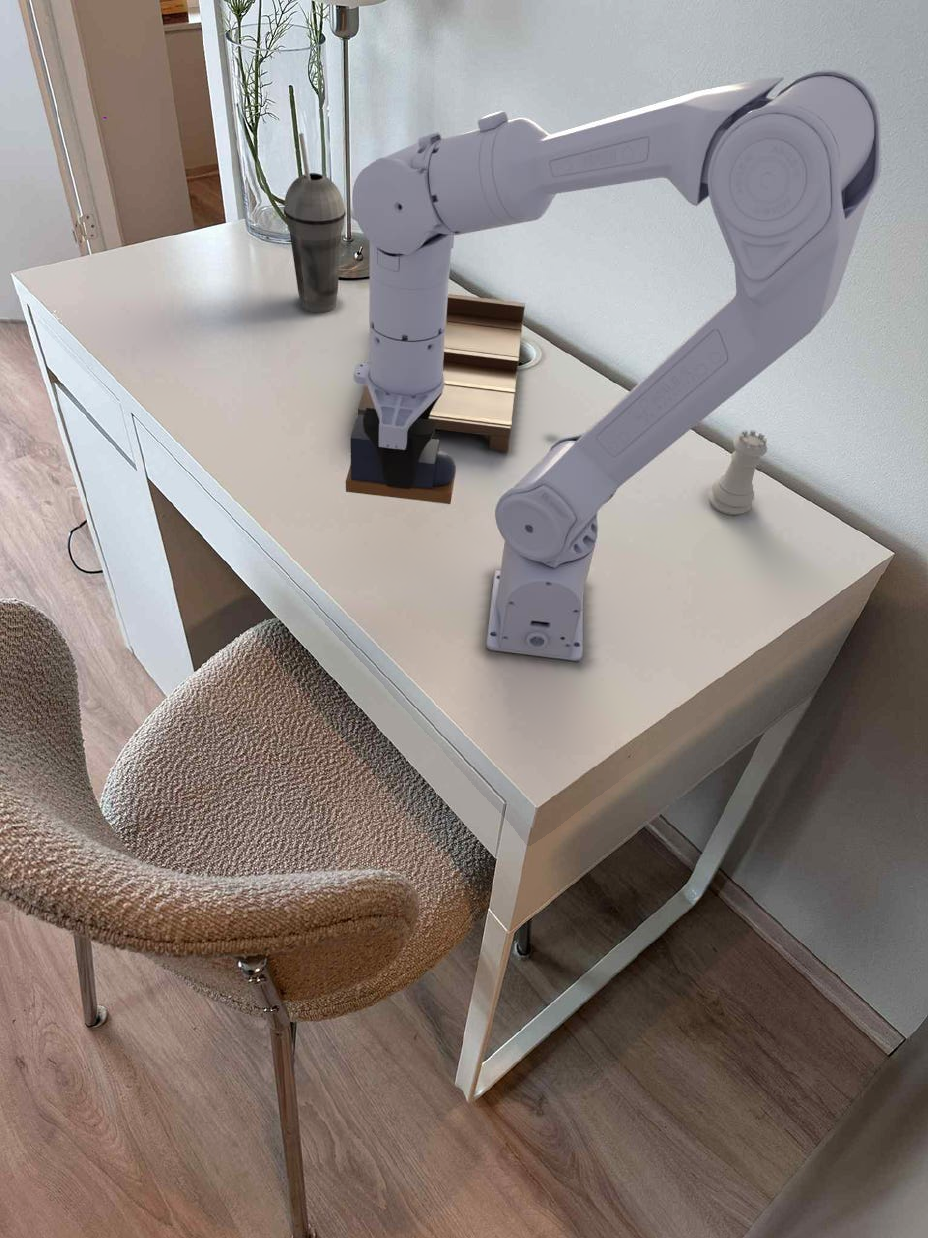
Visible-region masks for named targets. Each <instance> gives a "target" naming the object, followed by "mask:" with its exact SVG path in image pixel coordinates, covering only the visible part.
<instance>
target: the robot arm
mask: <svg viewBox="0 0 928 1238" xmlns="http://www.w3.org/2000/svg"><path fill="white" fill-rule="evenodd" d="M782 81H784V77H771V78H760V79H759V78H758V79H755V80H754V79H753V80H749V81H745V82H738V83H734V84H728V85H723V86H718V87H713V88H707V89H704V90H699V91H694V92H692V93H688V94H685V95H682V96H679V97H675V98H672V99H668V100H665V101H662V102H658V103H655V104H651V105H647V106H644V107H641V108H637V109H634V110H631V111H628V112H623V113H621V114H617V115H614V116H610V117H607V118H604V119H601V120H597V121H594V122H590V123H588V124H587V123H586V124H584V125H580V126H577V127H574V128H569V129H567V130H564V131H563V130H562V131H560V132H557V133H554V134H549V133H548V132H547V131H546V130H544V129H543V128H542V127H540V126H539V125H538V124H537V123H535V122H534V121H532V120H531V119H528V118H525V117H518V118H515V119H514V118H513V119H511V120H509V118H508V114H507V112H506V110H500V111H498V112H497V111H496V112H493V113H490V114H488V115H486V116H484V117H482V118H479V119H478V120H477V126H478V129H474V130H470V131H467V132H463V133H459V134H456V135H452V136H449V137H446V138H442V135H441V133H440V132H438V131H435V132H432V133H428V134H426V135H423V136H421V137H420V138H418V141H417V142H416V143H414V144H411V145H409V146H407V147H404V148H402V149H400V150H398V151H395V152H393V153H391V154H388V155H386V156H384V157H379V158H377V159H376V160H374V161H373V162H371V163H370V164H368V165H367V166H366V167H364V168H363V169H361V171H360V172H359V173H358V175H357V177H356V178H355V180H354V184H353V187H352V193H351V195H352V196H351V197H352V198H351V200H352V201H351V202H352V209H353V213H354V217H355V220H356V223H357V224H358V226H359V228H360V230H361V232H362V234H363V235H364V236H365V238H366V239H367V240H368V241H369V293H368V294H369V302H368V303H369V305H368V306H369V307H368V308H369V309H368V311H369V312H368V313H369V314H368V315H369V318H368V320H369V333H368V335H369V336H368V337H369V341H368V342H369V345H368V347H369V351H368V352H369V353H368V358H369V359H368V362H369V363H364V362H363V363H362V362H360V363H357V365H356V366H355V369H354V372H353V381H354V382H355V383H356V384H358V385H364V386H365V385H366V386H367V387H368V389H369V392H370V395H371V397H372V400H373V403H374V406H375V409H373V408H366V410H365V414H364V417H363V428H364V432H365V434H366V435H367V436H368V437H369V439H370V440H371V442H372V443H373V445H374V447H375V449H376V451H377V454H378V457H379V461H380V464H381V469H382V473H383V477H384V480H385V483H386V486H387V487H393V488H402V489H410V488H411V486H412V484H413V481H414V478H415V474H416V470H417V465H418V461H419V458H420V455H421V453H422V451H423V449H424V448H425V446H426V445H427V444H428V442H429V441H430V440H431V439H433V436H434V434H435V431H436V429H435V427H436V422H437V421H435V420H428V418H429V416H430V413H431V411H432V409H433V407H434V405H435V403H436V402H437V400H438V399H439V397H440V396H441V395H442V391H443V389H444V379H445V376H444V373H443V359H444V345H445V330H446V315H447V301H448V294H449V284H450V269H451V256H452V249H454V245H455V244H454V243H455V242H454V241H455V236H460V235H465V234H471V233H475V232H481V231H487V230H491V229H492V230H493V229H498V228H503V227H508V226H512V225H519V224H522V223H528V222H534V221H538V220H539V219H541V218H542V217H543V216H545V214H546V212H547V211H548V210H549V208H550V207H551V204H552V203H553V200H554V198H555V197H556V195H558V194H562V193H563V194H564V193H569V192H577V191H583V190H590V189H595V188H596V189H597V188H602V187H608V186H616V185H622V184H629V183H636V182H641V181H646V180H647V181H649V180H654V179H662V178H665V179H667V180H668V181H669V182H670V183H671V184H672V185H673V187H674V188H676V190H677V191H678V192H679V193H680V194H681V195H682V196H683V198H684V199H685V200H686V201H687V202H688V203H689V204H691V205H692V206H694V207H697V206H699V205H700V204H701V203H702V202H704V201H705V200H706V199H707V198H709V200H710V204H711V207H712V208H711V209H712V210H713V213H714V216H715V219H716V221H717V224H718V226H719V229H720V231H721V234H722V236H723V240H724V242H725V243H726V246H727V249H728V251H729V254H730V257H731V259H732V262H733V264H734V275H735V276H734V277H735V279H734V280H735V293H734V294H733V295H732V296H731V297H730V298H729V299H728V300H726V301H725V302H724V304H722V305H721V306H720V307H719V308H718V309H717V310H716V311H715V312H714V313H712V315H711V316H709V317H708V318H707V319H706V320H705V321H704V322H703V323H702V324H701V325H700V326H698V327H697V328H696V330H695V331H693V332H692V333H691V334H690V335H689V336H688V337H687V338H686V339H685V340H683V342H682V343H680V344H679V345H678V346H677V347H676V348H675V349H674V350H672V352H671V353H670V354H668V355H667V356H666V357H665V358H664V359H663V360H662V361H661V362H660V363H659V364H657V366H655V367H654V369H652V370H651V371H650V372H649V373H648V374H647V375H646V376H645V377H643V379H642V380H640V381H639V383H637V384H636V385H635V386H634V387H633V388H632V389H631V390H630V391H628V392H627V393H626V394H625V396H623V397H622V398H621V399H620V400H619V401H618V402H617V403H616V404H615V405H613V406H612V407H611V408H610V410H608V411H607V412H606V413H605V414H604V415H603V416H601V418H600V419H599V420H598V421H595V422H594V423H593V424H592V425H591V426H589V428H587V429H586V430H585V431H583V432H581V433H577V434H572V435H566V436H563V437H562V438H560V439H558V440H557V441H556V442H554V444H553V445H552V446H551V447H550V449H549V450H548V452H547V453H546V455H544V457H542V458H541V459H540V460H539V461H538V463H536V465H535V466H533V467H532V468H531V469H530V470H529V471H528V472H527V473H526V475H525V476H523V477H522V478H521V479H520V480H519V481H518V482H517V483H516V484H515V485H514V486H513V487H511V488H510V489H508V490H507V491H506V492H505V493H503V494H502V495H501V496H500V498H499V499H498V500H497V503H496V505H495V511H494V518H495V523H496V524H495V525H496V526H497V530H498V532H499V534H500V536H501V537H502V539H503V540H504V544H503V551H502V558H501V565H500V569H498V570H495V571H494V574H493V583H492V590H491V591H492V592H491V599H490V609H489V617H488V618H489V619H488V626H487V634H486V635H487V636H486V648H487V649H489V650H490V651H497V652H503V653H504V652H505V653H510V654H511V653H512V654H521V655H527V656H536V657H543V658H551V659H559V660H565V661H566V660H567V661H573V662H579V661H581V660H582V658H583V648H584V647H583V645H584V643H583V641H584V639H583V635H584V633H583V632H584V631H583V630H584V627H583V626H584V619H583V618H584V592H585V589H586V585H587V580H588V577H589V572H590V569H591V568H590V567H591V565H592V559H593V556H594V555H593V554H594V552H595V548H596V543H597V540H598V532H599V531H598V530H599V527H598V514H599V513H598V512H599V511H600V509H601V508H602V507H603V506H604V505H605V504H607V503H608V502H609V501H610V500H611V499H612V498H613V497H614V495H616V492H617V491H618V489H619V488H620V487H621V486H622V485H624V484H625V483H626V482H627V481H629V480H630V479H631V478H632V477H633V476H635V475H636V474H637V473H639V472H640V471H641V470H642V469H643V468H645V467H646V466H647V465H648V464H650V463H651V462H652V461H654V460H655V458H657V457H658V456H660V454H662V453H663V452H665V450H667V449H668V448H670V446H672V445H673V444H674V443H676V442H677V441H678V440H679V439H681V438H682V437H683V436H685V434H686V433H688V432H689V431H690V430H692V429H693V428H694V427H695V426H697V425H698V424H700V422H702V421H703V420H704V419H705V418H707V417H708V416H709V415H711V414H712V413H713V412H714V411H715V410H717V409H718V408H719V407H720V406H721V405H722V404H724V403H725V402H726V401H727V400H729V399H730V398H731V397H733V396H734V395H735V394H736V393H738V392H739V391H740V390H741V389H743V388H744V387H745V386H746V385H747V384H749V383H750V382H751V381H752V380H754V379H755V378H756V377H757V376H759V375H760V374H761V373H762V372H763V371H765V370H766V369H767V368H768V367H770V366H771V365H772V364H773V363H775V362H776V361H778V359H779V358H781V357H783V355H784V354H786V353H787V352H788V351H790V349H792V348H794V346H796V345H797V344H798V343H799V342H800V341H802V340H803V339H804V338H806V337H807V336H808V335H809V334H811V332H812V331H813V330H815V328H816V327H817V326H818V324H819V323H820V322H821V320H822V319H823V318H824V317H825V315H826V314H827V312H828V311H829V310H830V309H831V307H832V306H833V304H834V302H835V300H836V297H837V296H838V292H839V289H840V287H841V283H842V281H843V278H844V274H845V272H846V269H847V265H848V262H849V260H850V257H851V254H852V251H853V248H854V244H855V242H856V239H857V235H858V232H859V229H860V227H861V224H862V220H863V217H864V215H865V212H866V209H867V206H868V204H869V202H870V200H871V198H872V195H873V193H874V190H875V188H876V186H877V183H878V181H879V180H880V177H881V172H882V162H881V161H882V160H881V156H882V155H881V153H882V151H881V118H880V111H879V108H878V103H877V102H876V100H875V97H874V95H873V94H872V92H871V90H870V89H869V88H868V87H867V86H866V85H865V83H863V82H862V81H861V80H860V79H859V78H857V77H855V76H854V75H852V74H850V73H847V72H845V71H841V70H837V69H821V70H816V71H812V72H808V73H806V74H804V75H801V76H799V77H797V78H796V79H794V80H793V81H791V82H790V83H789V84H788V85H786V86H784V88H783V89H782V90H780V92H779V93H778V94H777V96H776V97H774V98H769V97H768V95H769V94H770V93H771V92H772V91H773V90H774V89H775V87H777V86H778V85H779V84H781V82H782Z"/></svg>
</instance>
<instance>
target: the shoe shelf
mask: <svg viewBox="0 0 928 1238" xmlns="http://www.w3.org/2000/svg"><path fill="white" fill-rule="evenodd" d="M525 308H526V303H525V302H519V301H511V300H502V299H494V298H487V297H486V298H485V297H478V296H469V295H463V294H454V293H448V301H447V315H446V330H445V345H444V359H443V373H444V376H445V379H444V389H443V391H442V395H441V396H440V397H439V399H438V400H437V402H436V403H435V405H434V407H433V409H432V411H431V413H430V416H429V418H428V420H435V421H437V422H436V427H435V430H440V431H448V432H458V433H466V434H473V435H482V436H489V437H490V439H489V444H488V445H489V446H488V450H489V451H493V452H502V453H508V452H509V445H510V439H511V432H512V424H513V423H512V422H513V415H514V406H515V405H514V404H515V397H516V388H517V377H518V369H519V363H520V350H521V342H522V333H523V322H524V316H525ZM364 386H365V387H364V389H363V392H362V394H361V397H360V401H359V403H358V407H357V412H356V413H357V415H358V414H361V415H364V414H365V410H366V408H373V409H375V406H374V403H373V400H372V397H371V395H370V392H369V389H368V387H367V386H366V385H364Z"/></svg>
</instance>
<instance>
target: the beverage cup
mask: <svg viewBox="0 0 928 1238" xmlns="http://www.w3.org/2000/svg"><path fill="white" fill-rule="evenodd" d="M304 135H305V134H304V133H303V132H301V133H299V134H298V138H299V144H300V150H301V157H302V163H303V170H304V174H302V175H300V176H298V177H296V179H294V180H293V181H292V182H291V184H290V186H289V187H288V189H287V191H286V194H285V196H284V207H283V215H284V216H285V222H286V226H287V230H288V232H289V238H290V244H291V251H292V258H293V266H294V272H295V279H296V287H297V293H298V296H299V303H300V307H301V308H302V309H303V310H305V311H306V312H310V313H316V314H319V313H320V314H321V313H328V312H331V311H333V310H335V309H336V306H337V299H338V294H339V293H338V292H339V280H340V279H339V277H340V263H341V262H340V260H341V250H342V249H341V247H342V234H343V231H344V225H345V217H346V215H347V212H346V209H345V204H344V199H343V196H342V194H341V190H339V188H338V186H337V185H336V184H335V182H333V181H332V180H331V179H330V178H329V177H328V176H325V175H324V174H320V173H316V172H310V168H309V167H310V166H309V161H308V155H307V147H306V143H305V136H304Z"/></svg>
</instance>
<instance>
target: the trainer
mask: <svg viewBox="0 0 928 1238" xmlns="http://www.w3.org/2000/svg"><path fill="white" fill-rule="evenodd" d="M363 417H364V415H361V414H358V415H357V416H356V419H355V422H354V425H353V427H352V431H351V434H350V438H349V446H350V447H349V449H350V451H349V452H350V465H349V468H348V471H347V476H346V479H345V492H346V493H353V494H361V495H369V496H377V497H387V498H395V499H402V500H403V499H404V500H412V501H420V502H429V503H437V504H446V505H451V503H452V499H453V498H452V497H453V492H454V485H455V480H456V472H457V471H456V470H457V465H456V462H455V460H454V459H453V458H452V456H451V455H450V454H449V453H447V451H443V450H439V449H440V440H439V439H433V438H431V440H430V441H429V442H428V444H427V445H426V446H425V448H424V449H423V451H422V453H421V455H420V458H419V461H418V465H417V470H416V474H415V478H414V481H413V484H412V486H411V488H410V489H402V488H393V487H387V486H386V483H385V480H384V477H383V473H382V469H381V464H380V461H379V457H378V454H377V451H376V449H375V447H374V445H373V443H372V442H371V440H370V439H369V437H368V436H367V435H366V434H365V432H364V428H363Z"/></svg>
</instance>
